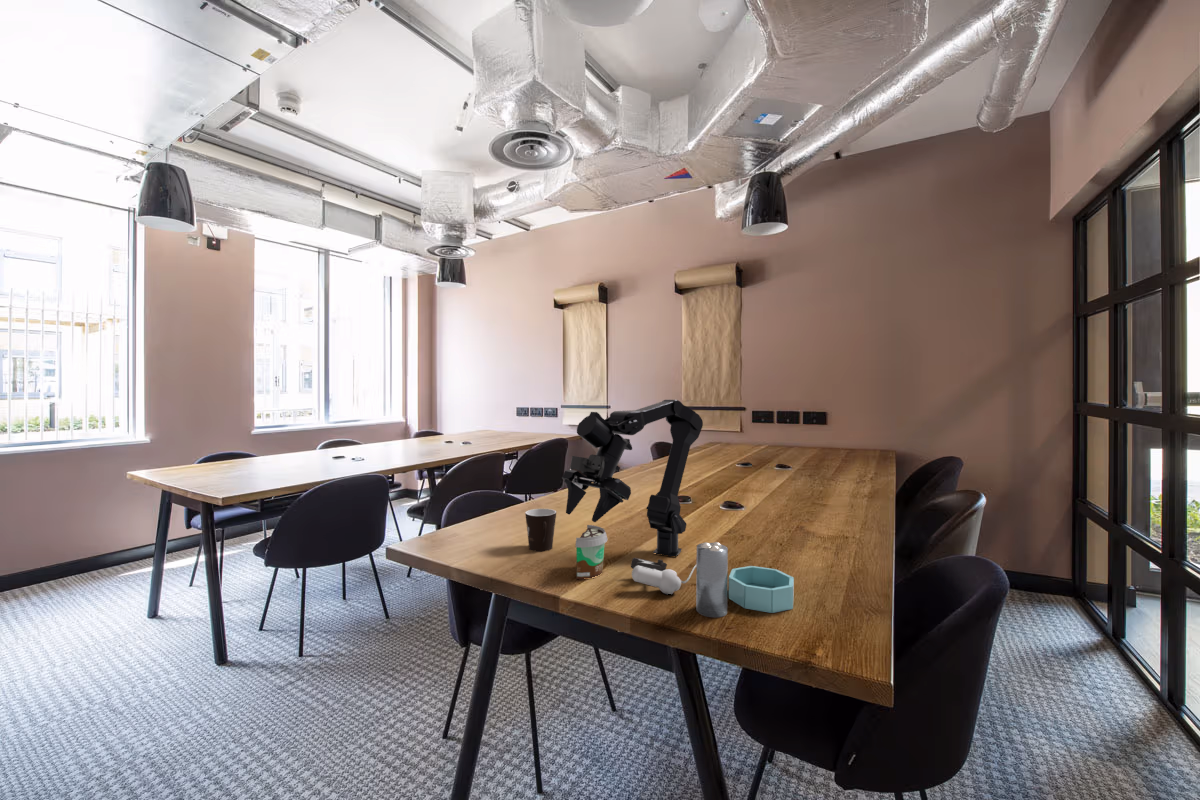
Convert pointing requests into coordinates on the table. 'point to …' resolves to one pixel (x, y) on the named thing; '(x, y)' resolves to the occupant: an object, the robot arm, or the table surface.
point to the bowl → (761, 589)
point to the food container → (590, 552)
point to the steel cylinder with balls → (711, 579)
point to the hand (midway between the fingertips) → (580, 517)
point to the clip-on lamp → (656, 575)
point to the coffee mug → (540, 529)
